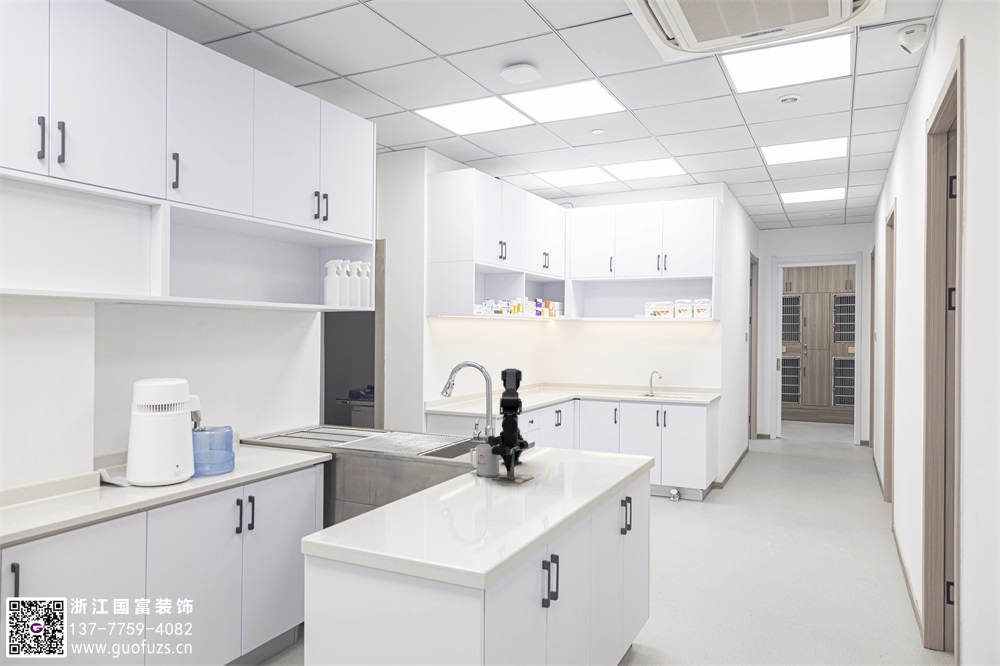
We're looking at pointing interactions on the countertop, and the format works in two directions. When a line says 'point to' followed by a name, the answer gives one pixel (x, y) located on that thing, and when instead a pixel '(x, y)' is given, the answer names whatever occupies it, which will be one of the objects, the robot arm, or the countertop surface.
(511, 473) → the marker
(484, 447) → the mug
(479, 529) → the countertop surface
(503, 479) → the clipboard
